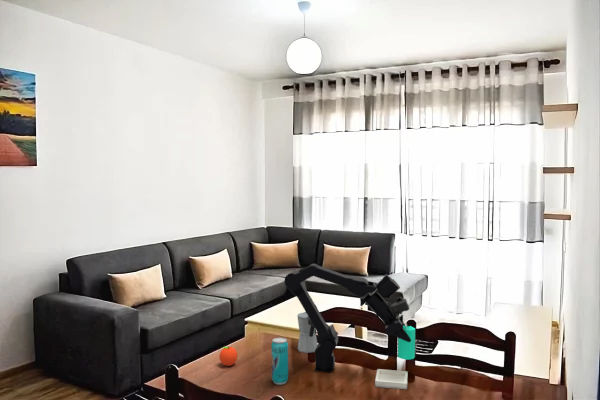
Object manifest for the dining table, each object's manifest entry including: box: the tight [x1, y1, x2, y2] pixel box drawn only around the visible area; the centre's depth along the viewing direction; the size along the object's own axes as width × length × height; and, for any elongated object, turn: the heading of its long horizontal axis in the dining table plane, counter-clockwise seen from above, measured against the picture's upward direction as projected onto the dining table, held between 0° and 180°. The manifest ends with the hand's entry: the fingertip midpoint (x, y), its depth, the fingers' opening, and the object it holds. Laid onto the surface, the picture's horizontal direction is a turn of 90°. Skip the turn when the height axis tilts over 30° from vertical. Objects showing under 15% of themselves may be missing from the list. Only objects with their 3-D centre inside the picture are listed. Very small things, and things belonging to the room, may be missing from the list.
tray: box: [374, 368, 409, 390], centre depth 169 cm, size 11×11×2 cm
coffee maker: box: [297, 311, 318, 354], centre depth 201 cm, size 15×9×18 cm, turn 14°
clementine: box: [218, 346, 239, 367], centre depth 186 cm, size 8×7×7 cm
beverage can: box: [270, 337, 289, 386], centre depth 170 cm, size 6×6×15 cm
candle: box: [397, 325, 416, 361], centre depth 175 cm, size 6×6×12 cm
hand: (410, 338), depth 175 cm, fingers closed on candle, 5 cm apart
